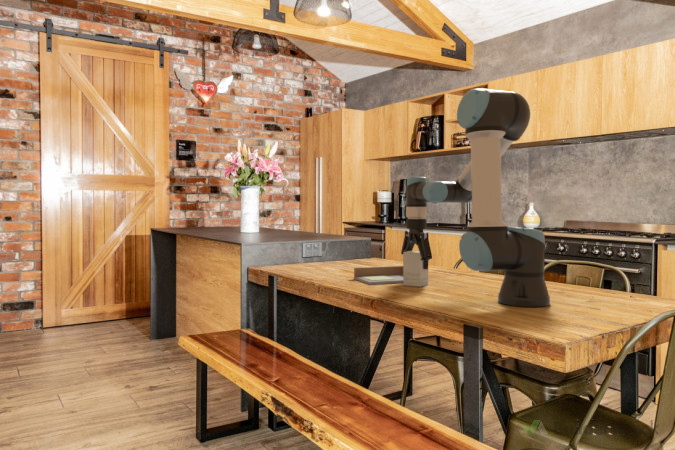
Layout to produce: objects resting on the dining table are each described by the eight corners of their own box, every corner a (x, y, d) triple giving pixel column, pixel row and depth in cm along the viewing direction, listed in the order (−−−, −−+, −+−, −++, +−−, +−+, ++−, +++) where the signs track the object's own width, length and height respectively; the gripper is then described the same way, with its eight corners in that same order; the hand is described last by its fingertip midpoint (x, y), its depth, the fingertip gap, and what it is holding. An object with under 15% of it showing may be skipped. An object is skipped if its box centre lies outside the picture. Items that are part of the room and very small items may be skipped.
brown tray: (421, 281, 208) (421, 270, 208) (370, 284, 200) (370, 272, 200) (402, 276, 223) (402, 265, 222) (354, 279, 215) (354, 267, 215)
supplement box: (428, 284, 201) (429, 251, 201) (420, 287, 195) (421, 252, 194) (410, 282, 205) (411, 250, 205) (402, 285, 199) (402, 251, 198)
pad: (395, 279, 207) (395, 279, 207) (371, 280, 203) (371, 280, 203) (384, 276, 216) (384, 275, 216) (361, 277, 213) (361, 276, 213)
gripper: (442, 219, 189) (441, 279, 190) (409, 217, 212) (409, 271, 213) (423, 219, 186) (423, 280, 187) (392, 217, 209) (392, 272, 210)
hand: (415, 275), depth 200 cm, fingers open, 12 cm apart
